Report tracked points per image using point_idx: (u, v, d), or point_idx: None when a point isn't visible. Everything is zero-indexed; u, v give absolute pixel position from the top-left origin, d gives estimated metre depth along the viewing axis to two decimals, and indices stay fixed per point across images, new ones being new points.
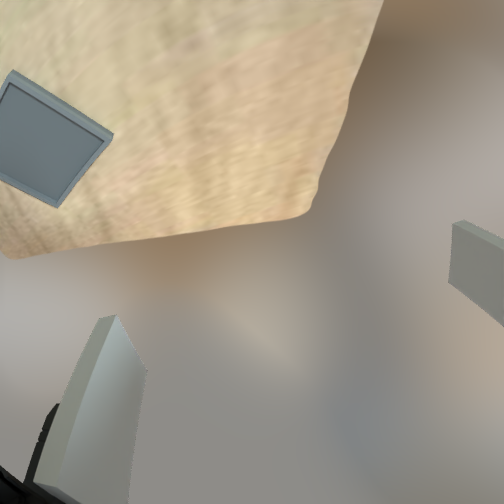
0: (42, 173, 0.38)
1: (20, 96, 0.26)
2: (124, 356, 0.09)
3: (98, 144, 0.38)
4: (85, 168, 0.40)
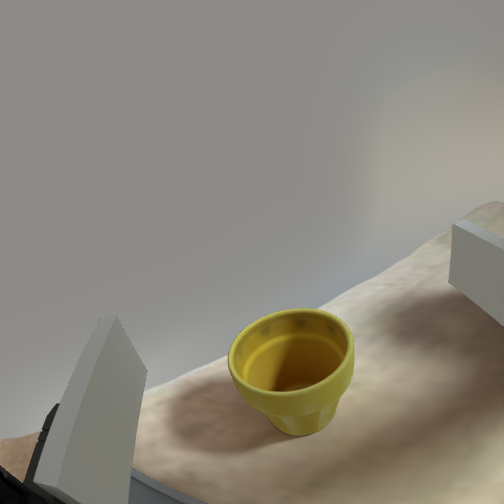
0: None
1: None
2: (124, 356, 0.09)
3: None
4: None
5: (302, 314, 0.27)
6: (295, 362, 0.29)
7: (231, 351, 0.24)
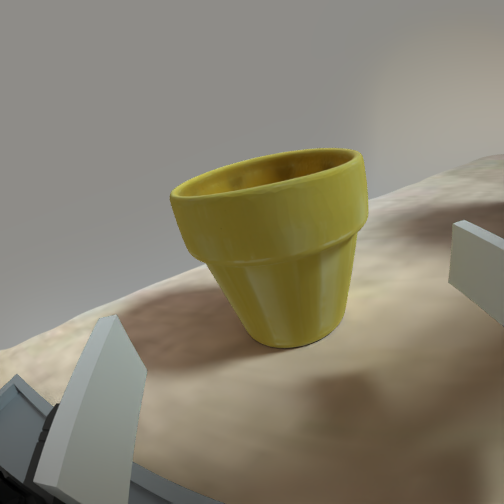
0: None
1: None
2: (124, 356, 0.09)
3: None
4: None
5: (287, 158, 0.19)
6: None
7: (180, 186, 0.16)
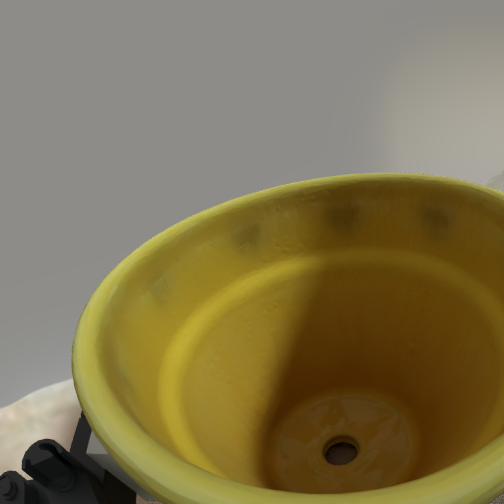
0: None
1: None
2: None
3: None
4: None
5: (349, 189, 0.09)
6: (326, 335, 0.11)
7: (118, 269, 0.07)
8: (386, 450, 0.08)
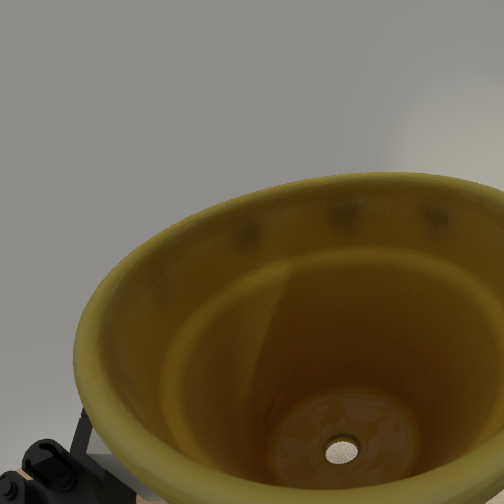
0: None
1: None
2: None
3: None
4: None
5: (349, 188, 0.10)
6: (327, 334, 0.11)
7: (119, 267, 0.07)
8: (386, 449, 0.08)
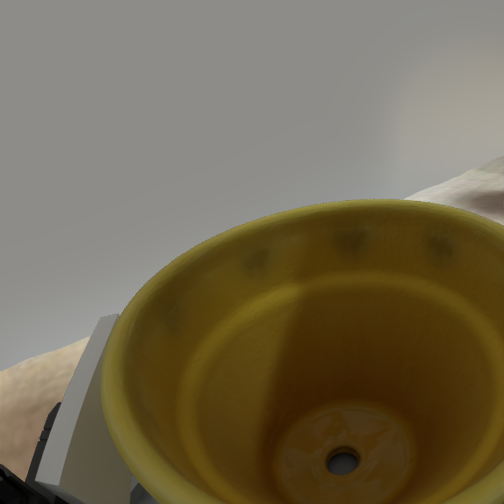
0: None
1: None
2: None
3: None
4: None
5: (357, 215, 0.10)
6: (331, 353, 0.11)
7: (134, 303, 0.07)
8: (385, 460, 0.09)
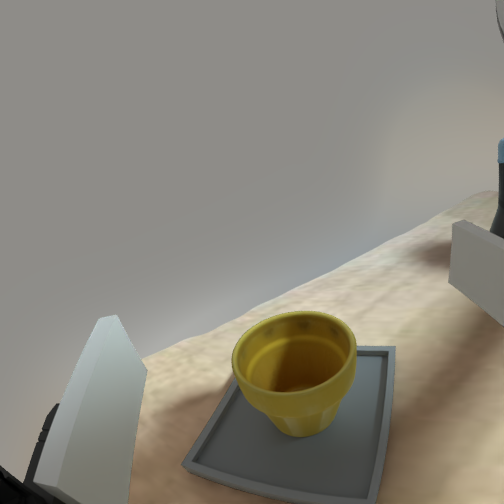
0: (254, 435, 0.25)
1: (373, 372, 0.29)
2: (124, 356, 0.09)
3: (347, 497, 0.17)
4: (292, 494, 0.18)
5: (305, 317, 0.27)
6: (297, 364, 0.29)
7: (235, 352, 0.24)
8: None
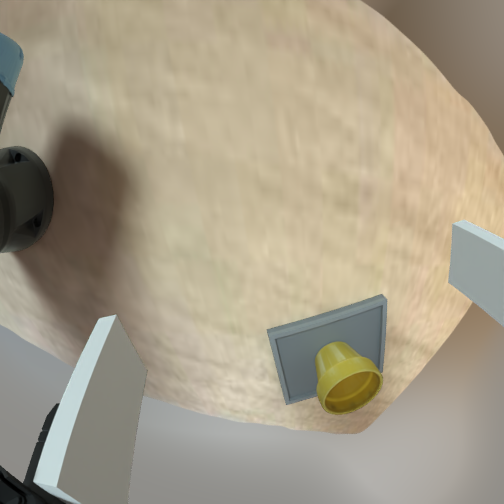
0: None
1: (292, 338, 0.45)
2: (124, 356, 0.09)
3: (379, 310, 0.46)
4: (384, 332, 0.47)
5: (324, 402, 0.39)
6: None
7: (360, 407, 0.41)
8: None
